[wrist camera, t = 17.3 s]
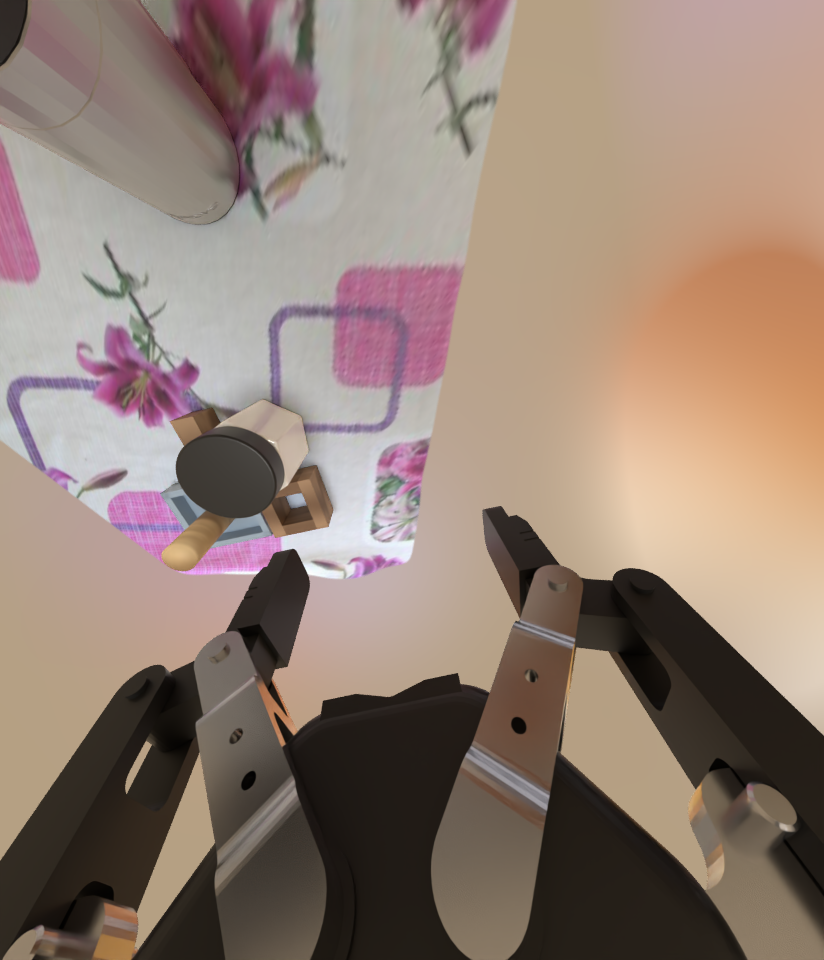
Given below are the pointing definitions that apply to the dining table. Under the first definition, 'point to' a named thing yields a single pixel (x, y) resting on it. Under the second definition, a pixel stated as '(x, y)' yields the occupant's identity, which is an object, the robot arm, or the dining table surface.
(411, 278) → the dining table surface
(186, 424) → the block
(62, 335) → the dining table surface
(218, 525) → the dowel
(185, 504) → the tray
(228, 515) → the jar
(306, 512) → the socket block
